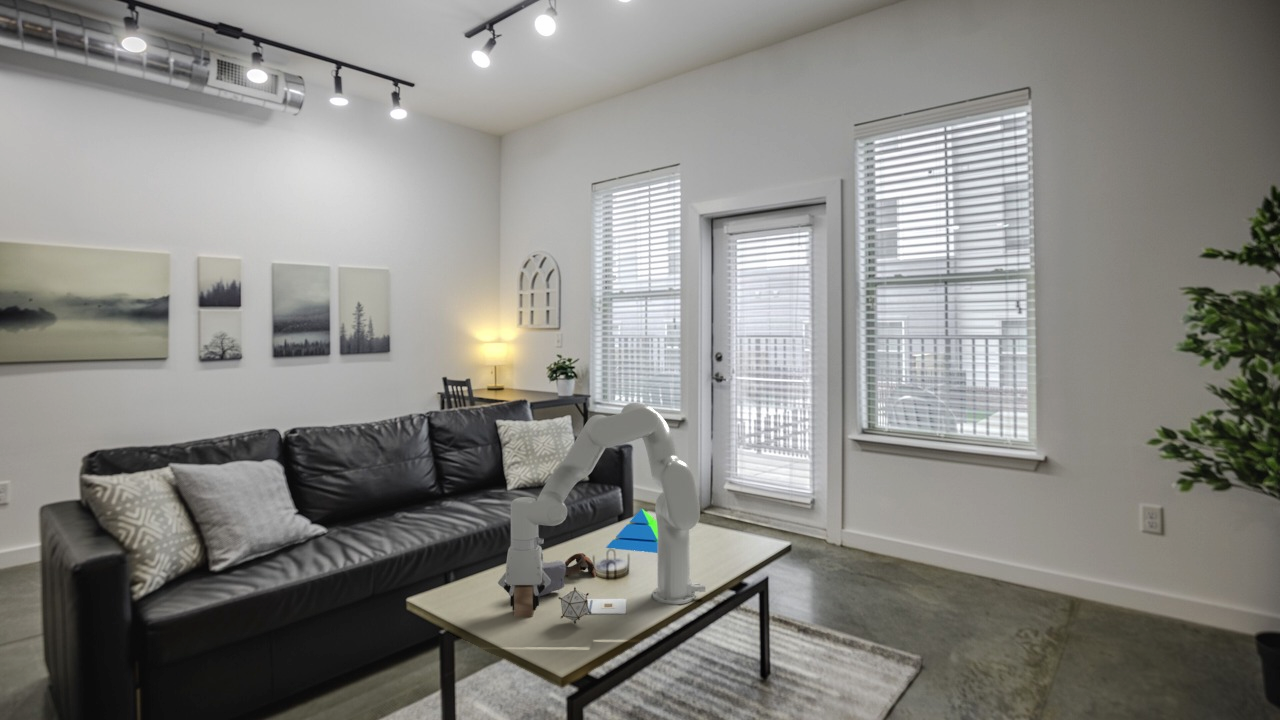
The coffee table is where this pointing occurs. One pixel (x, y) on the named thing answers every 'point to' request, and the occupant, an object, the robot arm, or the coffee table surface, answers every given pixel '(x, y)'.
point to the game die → (574, 605)
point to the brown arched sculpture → (579, 564)
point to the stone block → (554, 576)
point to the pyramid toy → (638, 534)
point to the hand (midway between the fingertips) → (524, 607)
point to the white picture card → (607, 606)
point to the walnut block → (523, 601)
